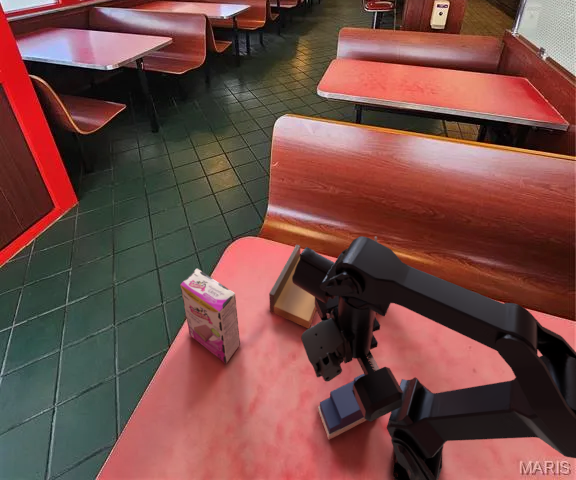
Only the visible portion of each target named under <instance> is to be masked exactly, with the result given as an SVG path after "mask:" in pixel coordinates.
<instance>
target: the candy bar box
mask: <svg viewBox="0 0 576 480" xmlns="http://www.w3.org/2000/svg"><path fill="white" fill-rule="evenodd" d="M179 286H180V291H181V296H182V301H183V307H184V311H185V312H184V313H185V318H186V322H187V327H188V334H189V337H191V338H193V340H195V341H196V342H197V343H199V344H200V345H201V346H203V347H204V348H205V350H207V351H209V352H210V353H211V354H213V355H214V356H215V357H216V358H218V359H219V360H220V361H221V362H223V363H224V364H226V365H227V363H228V362H229V361H230V359H231V358H232V356H233V355H234V354H235V352H236V351H237V350H238V348H239V347H240V345H241V341H240V340H241V339H240V331H239V320H238V319H239V317H238V309H237V300H236V299H237V298H236V293H235V292H234V291H232V290H231V289H229V288H228V287H226V286H225V285H223V284H222V283H221V282H218V281H217V280H216V279H214V278H212V277H211V276H210V275H208V274H207V273H205V272H203V271H202V270H200V269H199V268H195V270H193V272H192V273H191V274H190V275H188V276H187V277H186V279H184V280H183V281H182V282H181V283H180V284H179Z"/></svg>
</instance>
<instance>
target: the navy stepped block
mask: <svg viewBox="0 0 576 480" xmlns="http://www.w3.org/2000/svg"><path fill="white" fill-rule="evenodd" d="M362 376H365V374H364V373H362V374H359V375H357V376H355V377H353V380H351V381H350V382H348V383H345V384H344V385H341V386H339V387H337V388H335V389H332V390H331V391H330V392H329V397H328V398H325V399H324V400H322V401H319V405H318V406H317V412H318V415H319V417H320V419H321V422H322V425H323V429H324V431H325V434H326V436H327V440H331V439H334V438H335V437H338V436H339V435H341V434H343V433H345V432H347V431H349V430H350V429H352V428H355V427H356V426H358V425H360V424H362V423H364V422H366V421H367V420H366V419H365V418H364V416H363V414H362V411H361V410H360V408H359V405H358V403H357V401H356V398H355V396H354V394H353V392H352V390H353V384H354V383H355V382H356V381H357V380H358V379H359V378H360V377H362Z"/></svg>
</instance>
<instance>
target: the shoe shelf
mask: <svg viewBox="0 0 576 480" xmlns="http://www.w3.org/2000/svg"><path fill="white" fill-rule="evenodd" d="M300 254H301V245H299V244H295V246H294V248H293V250H292V252H291V254H290V255H289V257H288V258H287V260H286V262H285V264H284V266H283V268H282V270H281V272H280V273H279V275H278V277H277V279H276V281H275V282H274V284H273V286H272V288H271V289H270V291H269V293H268V298H269V312H270V313H273V314H275V315H278V317H282V318H283V319H286V320H288V321H291V322H293V323H295V324H297V325H298V326H299V325H300V326H302V327H303V328H306V329H307V330H308V329H309V328H311V325H312V322H313V319H314V317H315V314H316V312H317V308H316V306H315V297H314V296H313V295H311V294H309V293H308V292H306V291H305V290H303V289H301V288H300V287H298V286H296V285H295V284H293V281H292V276H293V274H294V272H295V269H296V266H297V264H298V262H299V260H300Z"/></svg>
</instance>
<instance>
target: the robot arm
mask: <svg viewBox="0 0 576 480" xmlns="http://www.w3.org/2000/svg"><path fill="white" fill-rule="evenodd" d="M292 281H293V284H295V285H296V286H298V287H300V288H301V289H303V290H305V291H306V292H308V293H309V294H311V295H313V296H314V297H315V306H316V308H317V309H316V312H317V313H318V316H319V318H320V320H321V321H319V322H317V323H316V324H313V326H310V327H309V329H308V328H307V329H306V330H304V331H303V332H302V334H301V337H300V338H301V342H302V345H303V348H304V351H305V354H306V356H307V359H308V361H309V363H310V364H311V366H312V368H313V370H314V373H315V376H316V378H321V377H322V379H323V381H324V382H326V383H327V382H330V381H332V380H333V379H335V378H337V377H338V376H339V375H341V374H342V373H343V368H342V365H341V364H342V363H344V364H348V363H352V362H353V359H356V360H357V362H358V364H359V366H360V368H361V370H362V372H363V374H365V376H362V377H360V378H359V379H358V380H357V381H356V382H355V383H354V384H353V390H352V392H353V394H354V396H355V398H356V401H357V403H358V405H359V408H360V410H361V411H362V414H363V416H364V418H365V419H366V421H368V422H370V423H371V422H373V421H376V420H377V419H379V418H381V417H383V416H385V415H388V414H389V413H390V415H389V418H388V420H387V421H388V422H387V423H386V430H387V433H388V434H389V436H390V438H391V445H392V452H391V459H392V461H393V468H392V469H393V470H392V477H393V479H394V480H439V479H440V475H441V472H442V469H443V451H444V450H443V449H444V444H446V443H447V442H454V441H457V442H458V441H478V440H502V439H523V438H524V439H525V438H526V439H527V438H536V439H540V440H541V441H543V443H545V444H547V445H548V446H550V447H551V448H552V449H554V450H555V451H556V452H558V453H559V454H561V455H562V456H563V457H566V458H572V459H576V350H575V349H574V348H573V347H572V346H571V344H569V342H567V340H566V339H565V338H564V337H563V336H562V335H560V334H558V333H556V332H554V331H553V330H551V329H549V328H547V327H545V326H543V325H542V324H541V323H540V322H539V321H538V319H537V318H536V317H535V316H534V315H533V314H532V313H531V311H529V310H528V309H527V308H525V307H523V306H522V305H520V304H518V303H513V302H500V301H498V300H496V299H493V298H490V297H488V296H486V295H483V294H480V293H478V292H475V291H473V290H470V289H468V288H465V287H463V286H460V285H458V284H455V283H453V282H450V281H448V280H445V279H442V278H441V277H438V276H435V275H433V274H431V273H427V272H426V271H424V270H423V271H422V270H420V269H418V268H415V267H412V266H411V265H408V264H407V263H405V262H403V260H401V259H400V258H399V257H398V255H397V254H396V253H395V252H394V251H393V249H391V248H389V247H388V246H385V245H384V244H382V243H380V242H378V241H377V242H376V241H375V239H372V238H370V237H366V236H363V235H361V236H360V235H359V236H358V237H357V238H354V239H352V241H351V242H350V244H349V246H348V247H347V248H346V249H344V250H341V253H340V254H339V255H338V257H336V260H335V261H333V260H331V259H329V258H328V257H325V256H324V255H322V254H319V253H318V252H316V251H315V250H314V249H312V248H310V247H308V246H306V247H305V248H304V249H303V250H302V251H301V252H300V260H299V262H298V264H297V266H296V269H295V272H294V274H293V276H292ZM391 304H394V305H397V306H401V307H403V308H405V309H407V310H409V311H411V312H413V313H416V314H418V315H420V316H422V317H424V318H427V319H428V320H430V321H433V322H435V323H437V324H439V325H441V326H443V327H445V328H448V329H450V330H452V331H453V332H456V333H459V334H460V335H462V336H464V337H466V338H469V339H471V340H473V341H475V342H477V343H479V344H481V345H483V346H486V347H487V348H490V349H492V350H494V351H496V352H497V353H498V355H499V356H500V357H501V358H502V359H503V360H504V362H505V363H506V365H508V366H509V368H510V369H511V371H512V373H513V375H514V377H515V378H513V379H512V380H506V381H500V382H495V383H489V384H482V385H476V386H470V387H464V388H458V389H452V390H446V391H441V392H433V391H431V390H429V388H427V386H426V385H424V384H423V383H422V382H421V381H420V380H419V379H418V378H417V377H413V378H411V379H404V378H401V381H400V384H399V382H398V381H397V379H396V377H395V375H394V373H393V371H392V370H391V368H390V367H388V366H383V367H381V368H380V366H379V365H378V363H377V362H376V358H375V357H374V355H373V353H372V352H371V350H372V349H375V348H377V347H378V345H379V341H378V340H377V339H376V337H375V335H374V333H375V332H377V331H380V330H381V324H380V322H379V320H378V319H377V317H376V314H378V315H379V316H381V317H386V315H387V313H388V311H389V309H390V306H391ZM538 353H540V355H539V354H538ZM396 475H397V476H396Z"/></svg>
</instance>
